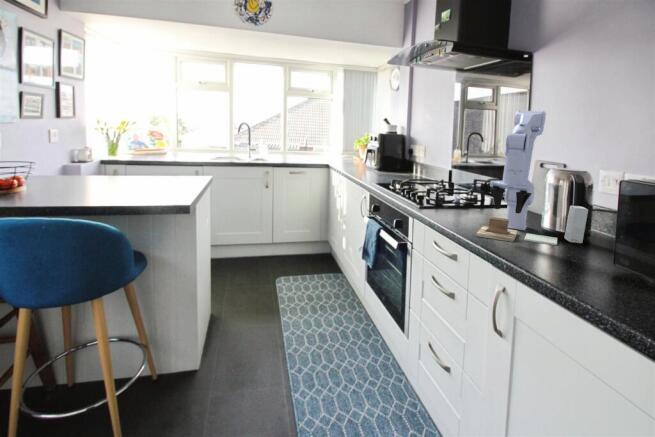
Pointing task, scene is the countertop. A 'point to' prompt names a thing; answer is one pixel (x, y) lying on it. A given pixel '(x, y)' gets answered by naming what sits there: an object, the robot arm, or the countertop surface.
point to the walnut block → (498, 225)
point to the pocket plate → (509, 237)
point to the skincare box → (576, 224)
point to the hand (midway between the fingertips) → (507, 210)
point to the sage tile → (541, 239)
